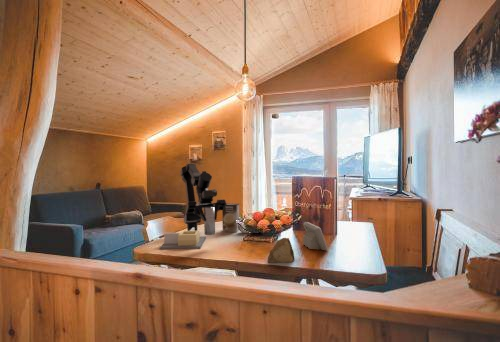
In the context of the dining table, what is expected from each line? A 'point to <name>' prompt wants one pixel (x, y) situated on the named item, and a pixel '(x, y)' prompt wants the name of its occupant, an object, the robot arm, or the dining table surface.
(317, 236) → the grey angular slab
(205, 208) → the hinge pin
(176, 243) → the grey plate with frame
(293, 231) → the dining table surface
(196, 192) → the robot arm
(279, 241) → the rock
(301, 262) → the dining table surface
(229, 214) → the coffee box
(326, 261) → the dining table surface
